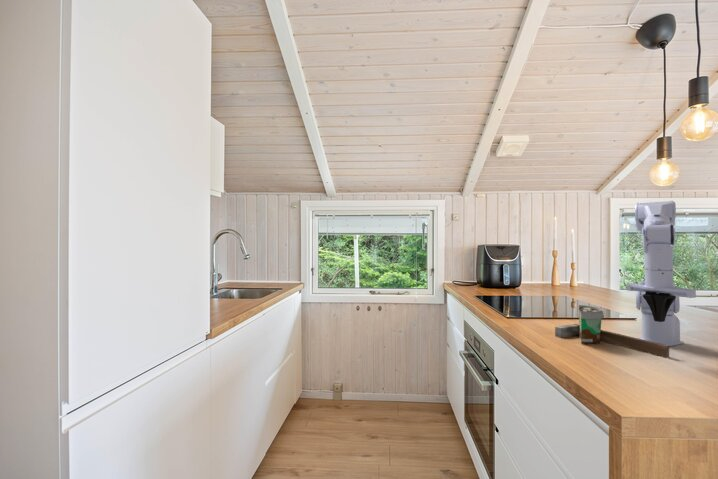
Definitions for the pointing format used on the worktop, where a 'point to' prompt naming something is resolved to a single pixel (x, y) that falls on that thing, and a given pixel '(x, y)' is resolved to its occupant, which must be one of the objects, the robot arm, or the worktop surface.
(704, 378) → the worktop surface
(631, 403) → the worktop surface
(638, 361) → the worktop surface
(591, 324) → the food container
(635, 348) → the rail
